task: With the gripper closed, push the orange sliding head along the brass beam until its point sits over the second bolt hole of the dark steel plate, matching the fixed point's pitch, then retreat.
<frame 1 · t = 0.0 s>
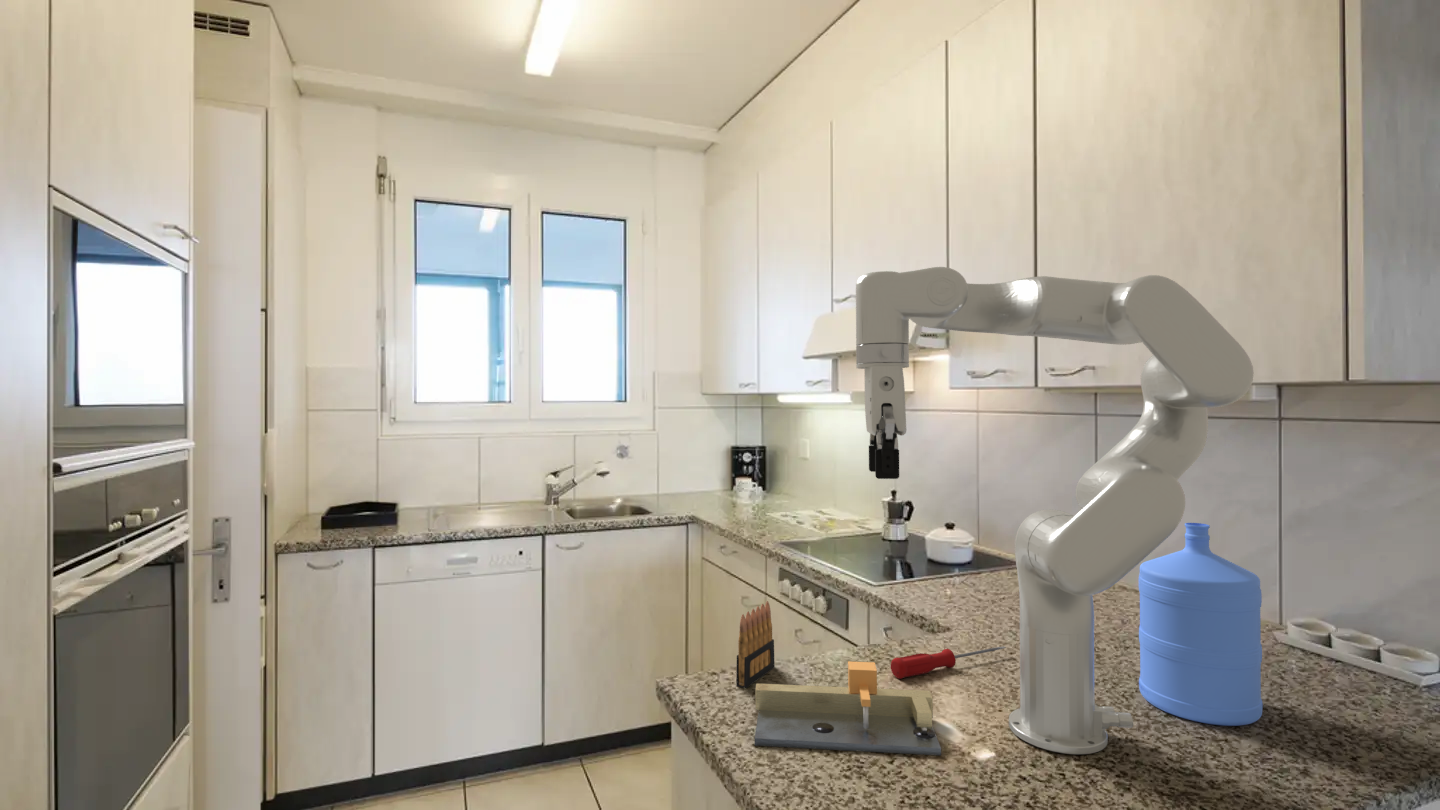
hand: (883, 474, 100), 37 cm above the countertop, tool pointing down, fingers open, 9 cm apart
ammunition clip: (756, 677, 119), on the countertop
sliding head: (863, 694, 100), point 5 cm above the countertop, slide at 0.0 cm
screwdriver: (952, 668, 122), on the countertop
water jug: (1198, 706, 106), on the countertop
drilled steel plate with beam: (843, 726, 100), on the countertop
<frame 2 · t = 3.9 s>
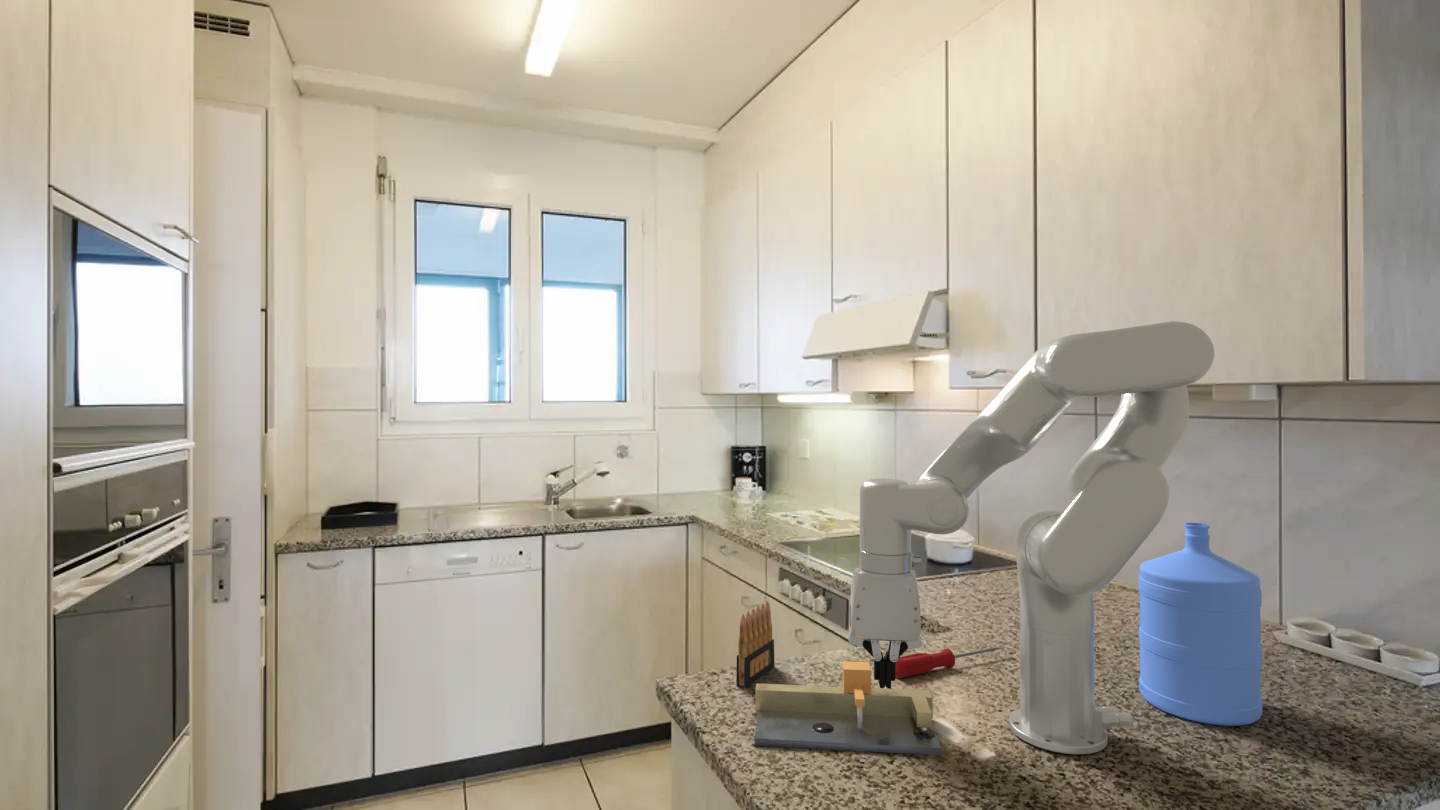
hand: (884, 684, 102), 5 cm above the countertop, tool pointing down, fingers closed
sliding head: (858, 694, 100), point 5 cm above the countertop, slide at 0.8 cm, touching gripper
everything else where it was.
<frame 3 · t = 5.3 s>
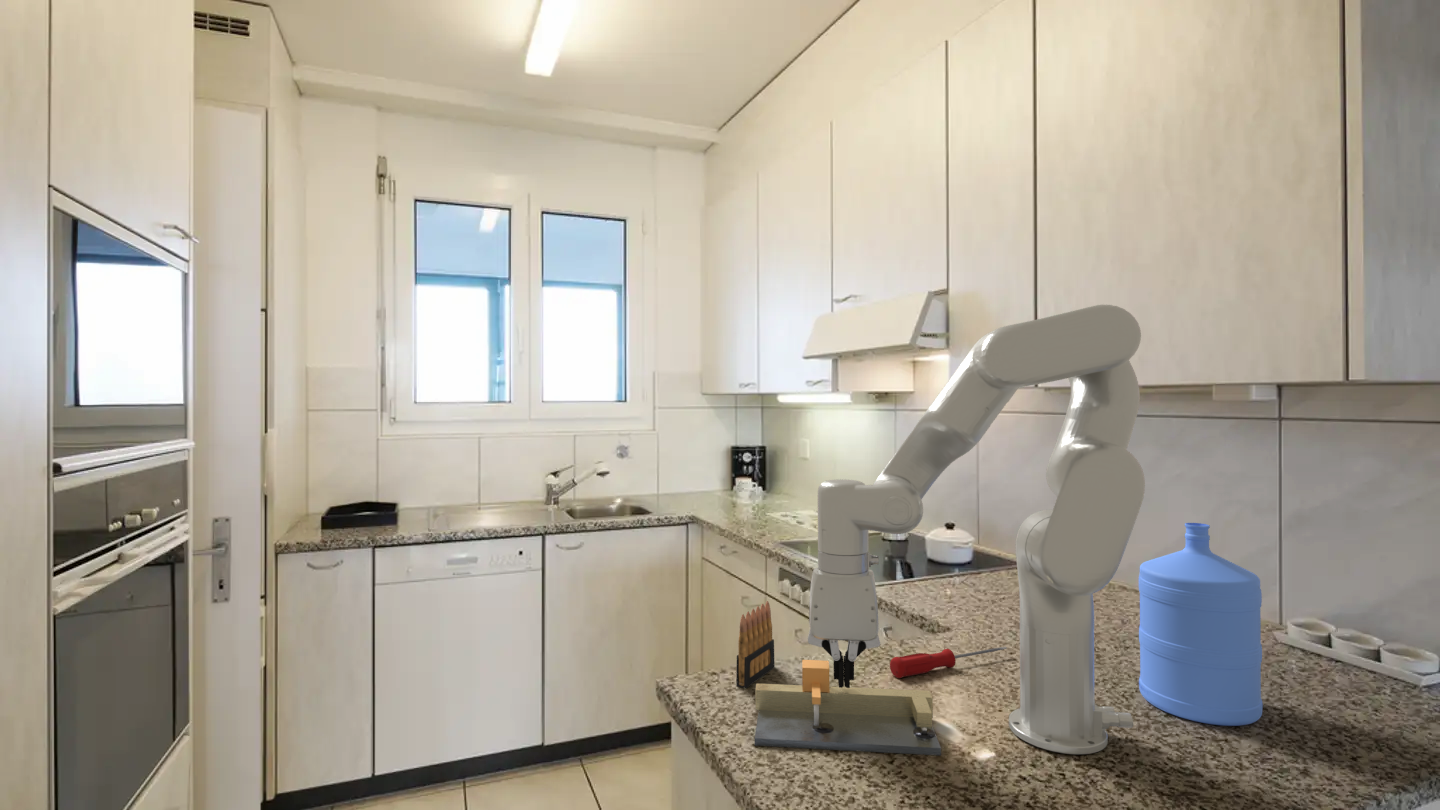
hand: (843, 683, 103), 5 cm above the countertop, tool pointing down, fingers closed
sliding head: (816, 692, 101), point 5 cm above the countertop, slide at 6.9 cm, touching gripper
everything else where it was.
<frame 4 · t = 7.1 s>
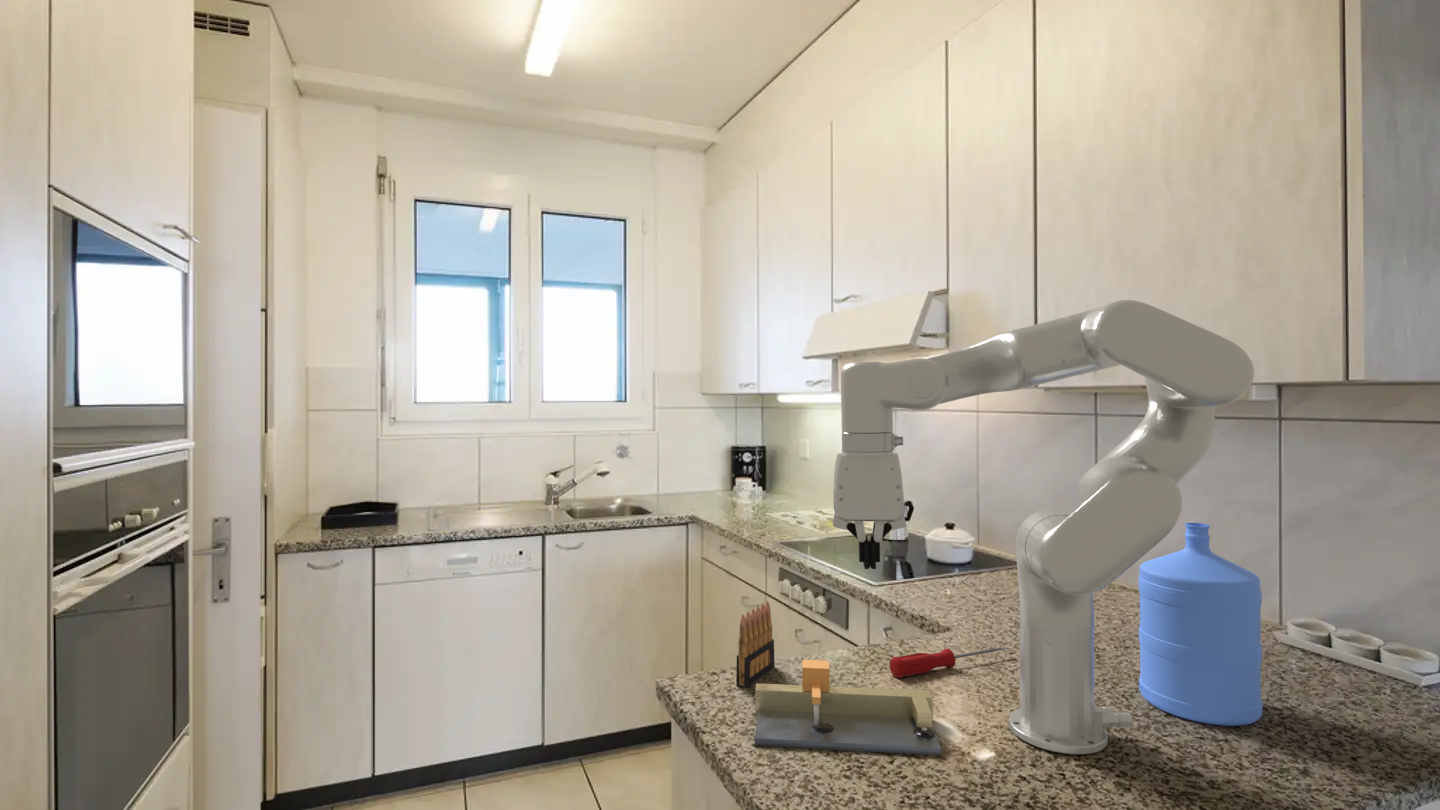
hand: (869, 566, 102), 23 cm above the countertop, tool pointing down, fingers closed
sliding head: (816, 692, 101), point 5 cm above the countertop, slide at 6.9 cm
everything else where it was.
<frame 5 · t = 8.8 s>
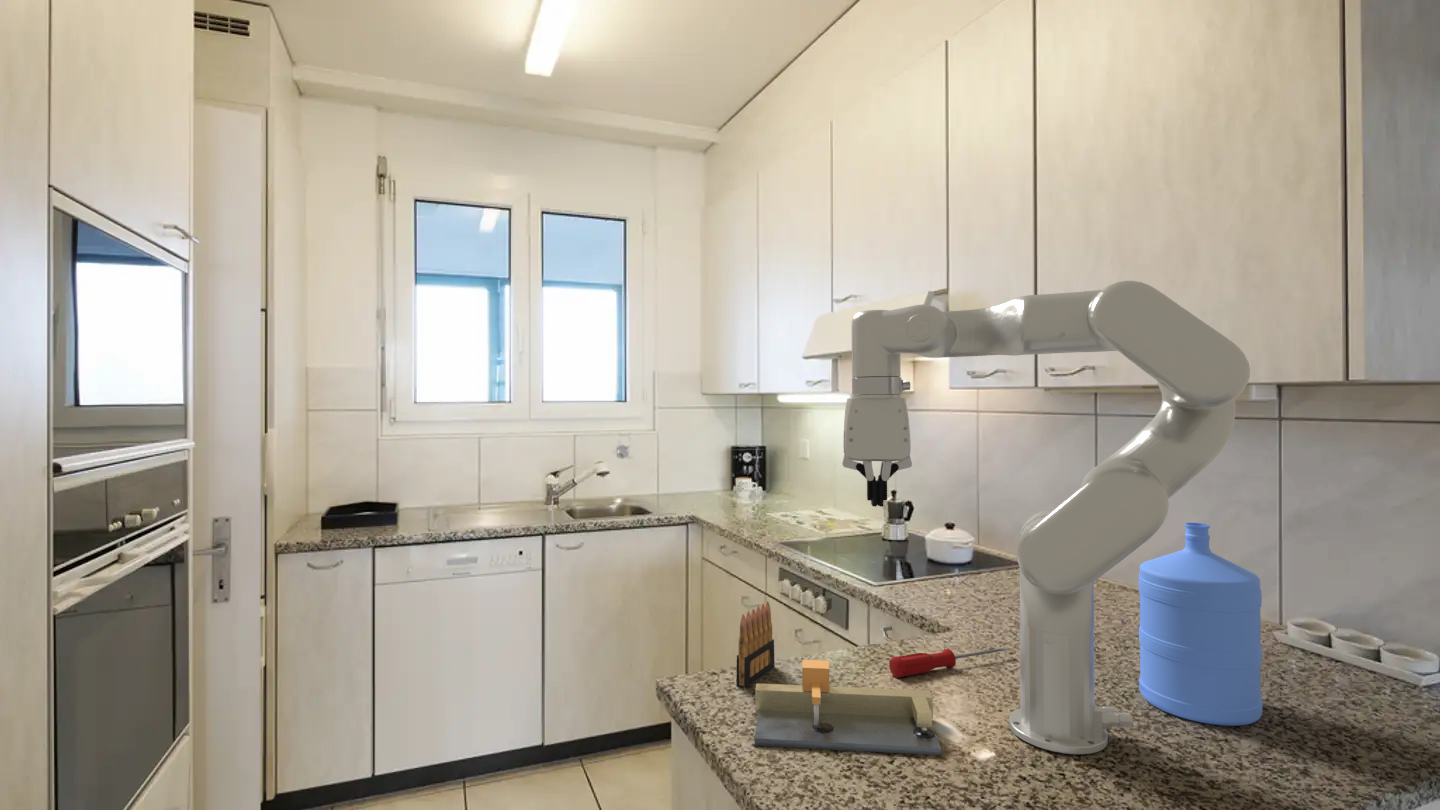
hand: (877, 505, 108), 31 cm above the countertop, tool pointing down, fingers closed
nothing on the countertop moved.
at the end: sliding head slide at 6.9 cm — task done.
